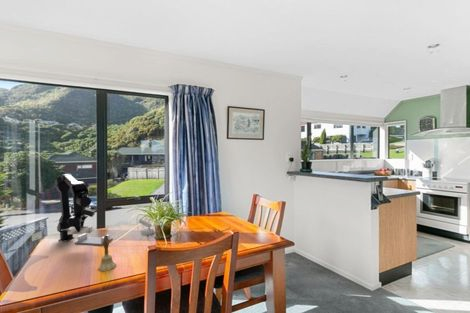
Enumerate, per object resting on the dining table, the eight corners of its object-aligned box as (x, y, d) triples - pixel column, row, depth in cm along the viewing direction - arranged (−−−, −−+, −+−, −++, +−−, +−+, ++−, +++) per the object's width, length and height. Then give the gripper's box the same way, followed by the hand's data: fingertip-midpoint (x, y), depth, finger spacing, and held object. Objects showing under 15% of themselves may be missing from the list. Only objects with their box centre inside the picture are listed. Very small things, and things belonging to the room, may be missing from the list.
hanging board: (74, 243, 167) (74, 237, 167) (86, 238, 177) (86, 232, 176) (102, 245, 163) (101, 239, 163) (112, 239, 173) (112, 233, 173)
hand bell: (95, 267, 135) (93, 236, 134) (112, 262, 141) (111, 231, 140) (101, 273, 129) (99, 240, 128) (118, 267, 135) (117, 235, 134)
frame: (67, 234, 156) (67, 229, 156) (70, 232, 160) (70, 226, 159) (90, 233, 158) (90, 227, 158) (92, 230, 162) (92, 225, 162)
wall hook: (142, 216, 191) (155, 217, 189) (142, 230, 191) (155, 230, 189) (135, 220, 182) (149, 220, 180) (136, 234, 183) (149, 235, 181)
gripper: (88, 207, 150) (89, 235, 151) (98, 200, 168) (99, 224, 169) (66, 208, 148) (67, 236, 149) (79, 201, 166) (80, 226, 167)
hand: (80, 230), depth 159 cm, fingers closed on frame, 4 cm apart
